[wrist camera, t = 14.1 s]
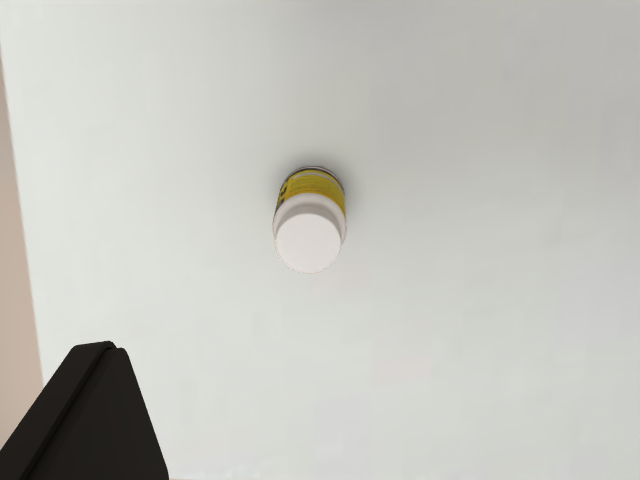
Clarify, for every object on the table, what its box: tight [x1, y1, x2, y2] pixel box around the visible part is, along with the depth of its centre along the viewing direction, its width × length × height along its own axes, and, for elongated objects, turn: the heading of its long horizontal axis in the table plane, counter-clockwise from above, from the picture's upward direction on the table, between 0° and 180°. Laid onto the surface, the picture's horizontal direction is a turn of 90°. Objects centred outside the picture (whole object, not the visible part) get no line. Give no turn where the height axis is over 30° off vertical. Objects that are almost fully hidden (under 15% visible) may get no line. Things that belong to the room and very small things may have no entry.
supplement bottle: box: [273, 167, 347, 273], centre depth 40 cm, size 5×5×8 cm
